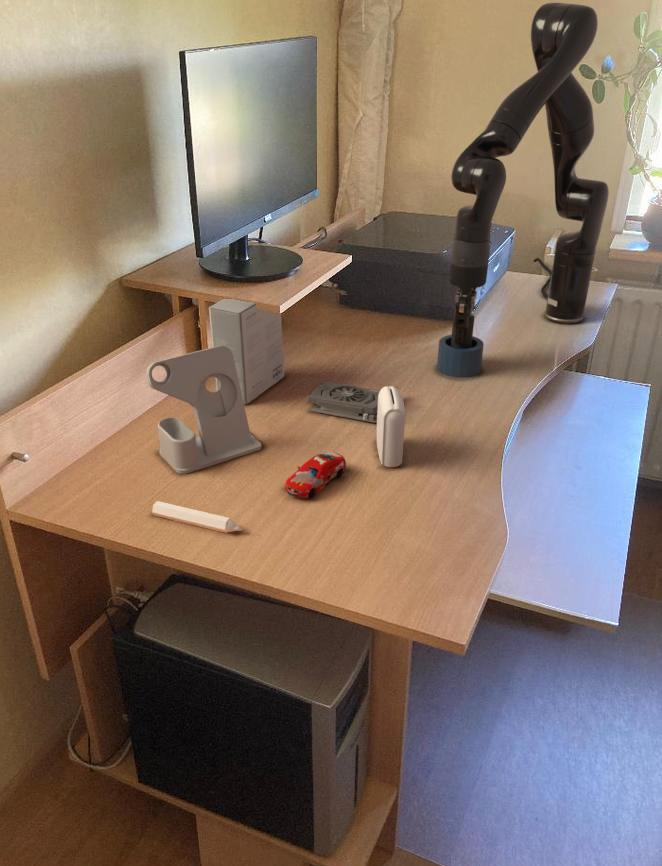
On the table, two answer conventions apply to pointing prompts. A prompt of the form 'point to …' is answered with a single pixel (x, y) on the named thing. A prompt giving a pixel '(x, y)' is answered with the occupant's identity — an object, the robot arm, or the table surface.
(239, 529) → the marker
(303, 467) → the race car
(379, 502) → the table surface
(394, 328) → the table surface
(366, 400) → the graphics card
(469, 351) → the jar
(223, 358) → the phone holder
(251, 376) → the hard drive box
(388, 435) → the photo printer
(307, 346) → the table surface
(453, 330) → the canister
